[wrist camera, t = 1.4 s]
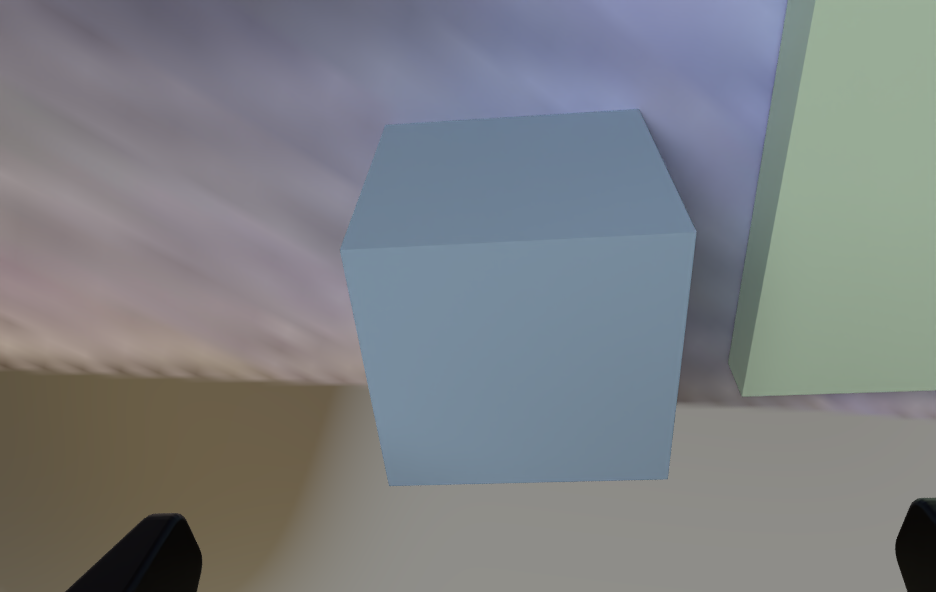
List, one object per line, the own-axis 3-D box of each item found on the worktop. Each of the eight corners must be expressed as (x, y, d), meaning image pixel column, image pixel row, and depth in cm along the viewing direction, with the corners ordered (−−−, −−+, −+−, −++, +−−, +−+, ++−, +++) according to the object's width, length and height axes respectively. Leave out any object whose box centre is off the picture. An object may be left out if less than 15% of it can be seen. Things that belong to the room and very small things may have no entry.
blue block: (637, 107, 14) (696, 232, 10) (626, 314, 17) (667, 479, 13) (386, 123, 14) (340, 249, 10) (415, 323, 17) (389, 486, 13)
